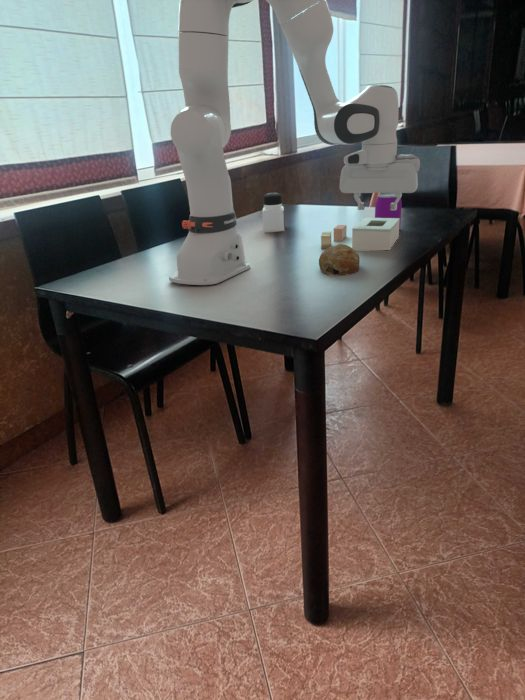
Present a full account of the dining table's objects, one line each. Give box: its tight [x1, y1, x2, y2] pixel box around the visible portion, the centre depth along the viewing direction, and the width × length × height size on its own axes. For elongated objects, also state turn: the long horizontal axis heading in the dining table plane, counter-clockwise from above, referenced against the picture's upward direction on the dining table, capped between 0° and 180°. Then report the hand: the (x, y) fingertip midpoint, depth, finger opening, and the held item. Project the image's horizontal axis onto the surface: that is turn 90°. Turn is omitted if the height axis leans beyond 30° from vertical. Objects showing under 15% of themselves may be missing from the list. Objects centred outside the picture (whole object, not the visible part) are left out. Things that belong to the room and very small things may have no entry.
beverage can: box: [374, 193, 403, 231], centre depth 149 cm, size 8×8×12 cm
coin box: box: [351, 217, 400, 252], centre depth 137 cm, size 14×10×7 cm
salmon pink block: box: [333, 224, 347, 242], centre depth 147 cm, size 5×2×4 cm, turn 156°
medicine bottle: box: [261, 192, 286, 234], centre depth 166 cm, size 7×7×12 cm
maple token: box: [320, 231, 332, 250], centre depth 140 cm, size 5×2×4 cm, turn 169°
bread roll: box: [318, 243, 360, 276], centre depth 119 cm, size 10×10×8 cm
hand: (377, 209), depth 134 cm, fingers open, 7 cm apart
